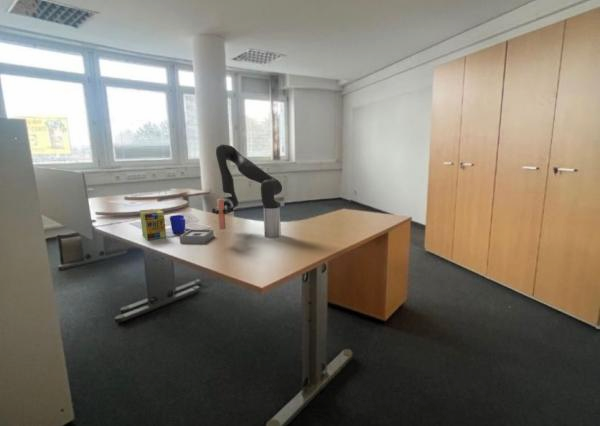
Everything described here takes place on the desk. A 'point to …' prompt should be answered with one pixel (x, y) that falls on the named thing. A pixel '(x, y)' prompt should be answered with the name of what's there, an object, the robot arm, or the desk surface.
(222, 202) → the peg
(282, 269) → the desk surface
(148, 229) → the protein box
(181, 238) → the grey square hole base
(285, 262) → the desk surface
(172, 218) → the mug
